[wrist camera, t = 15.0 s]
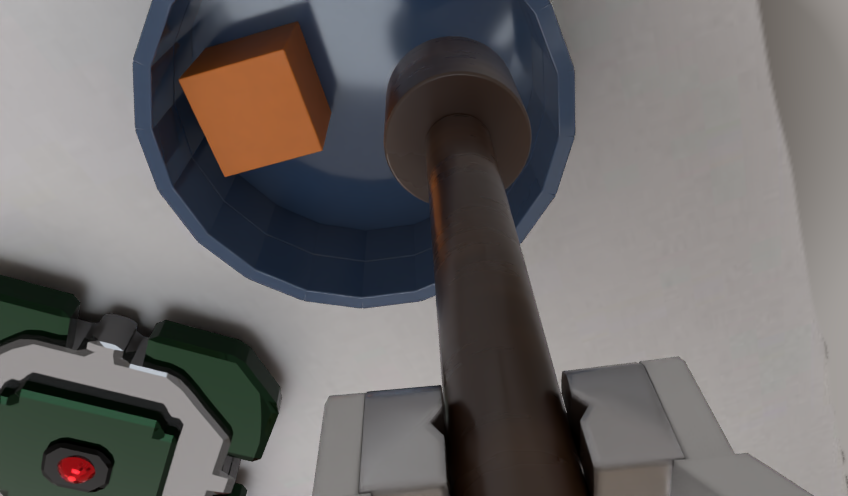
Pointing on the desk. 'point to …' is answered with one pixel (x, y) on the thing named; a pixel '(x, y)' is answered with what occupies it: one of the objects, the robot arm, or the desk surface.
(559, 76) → the bowl
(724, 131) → the desk surface
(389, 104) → the stirrer
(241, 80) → the block
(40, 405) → the flat green button pad
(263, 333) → the desk surface
